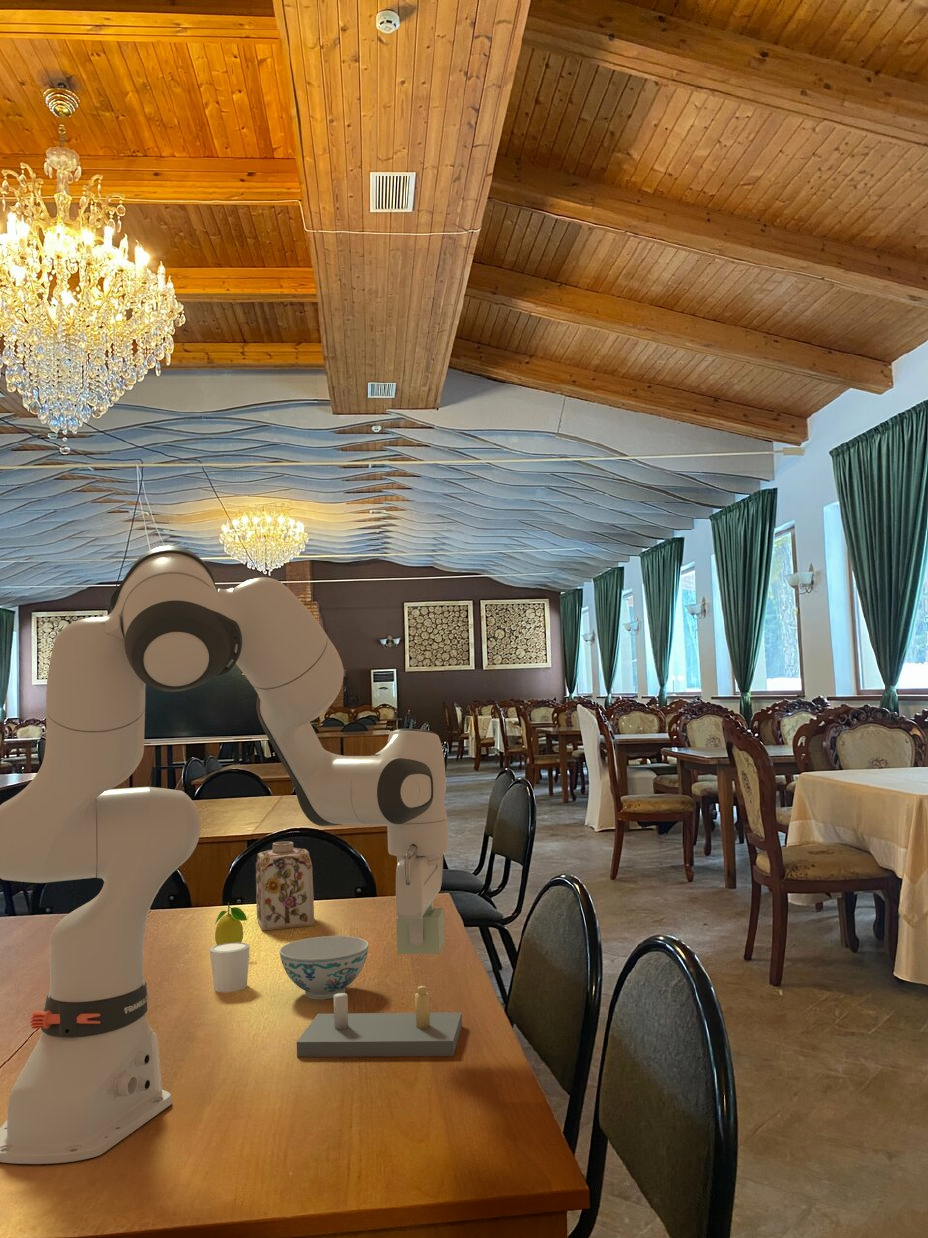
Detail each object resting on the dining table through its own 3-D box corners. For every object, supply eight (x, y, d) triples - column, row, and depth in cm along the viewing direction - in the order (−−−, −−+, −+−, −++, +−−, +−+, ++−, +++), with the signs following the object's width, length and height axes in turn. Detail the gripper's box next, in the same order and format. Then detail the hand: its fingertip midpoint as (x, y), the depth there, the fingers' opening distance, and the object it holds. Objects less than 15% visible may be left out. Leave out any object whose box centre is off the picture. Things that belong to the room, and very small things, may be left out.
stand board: (453, 1056, 132) (451, 1000, 132) (297, 1057, 134) (295, 1001, 134) (462, 1026, 143) (460, 974, 144) (318, 1027, 145) (316, 976, 146)
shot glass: (240, 994, 164) (239, 952, 165) (203, 993, 166) (202, 951, 166) (256, 982, 171) (255, 942, 172) (221, 981, 172) (220, 941, 173)
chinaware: (284, 1012, 153) (283, 962, 154) (277, 986, 168) (276, 941, 168) (377, 1000, 157) (375, 952, 158) (362, 976, 172) (360, 932, 172)
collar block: (439, 953, 135) (438, 917, 136) (397, 954, 136) (396, 918, 136) (444, 942, 141) (443, 908, 142) (404, 943, 142) (403, 908, 142)
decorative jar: (256, 921, 220) (254, 841, 222) (307, 915, 224) (305, 837, 225) (261, 932, 209) (259, 848, 210) (314, 926, 212) (312, 844, 214)
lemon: (247, 955, 190) (246, 903, 191) (217, 959, 188) (216, 907, 188) (242, 947, 196) (241, 897, 197) (213, 951, 194) (212, 901, 195)
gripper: (428, 851, 129) (432, 956, 128) (448, 829, 149) (451, 920, 148) (382, 852, 130) (386, 957, 129) (408, 830, 150) (411, 920, 149)
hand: (421, 937), depth 139 cm, fingers closed on collar block, 6 cm apart
